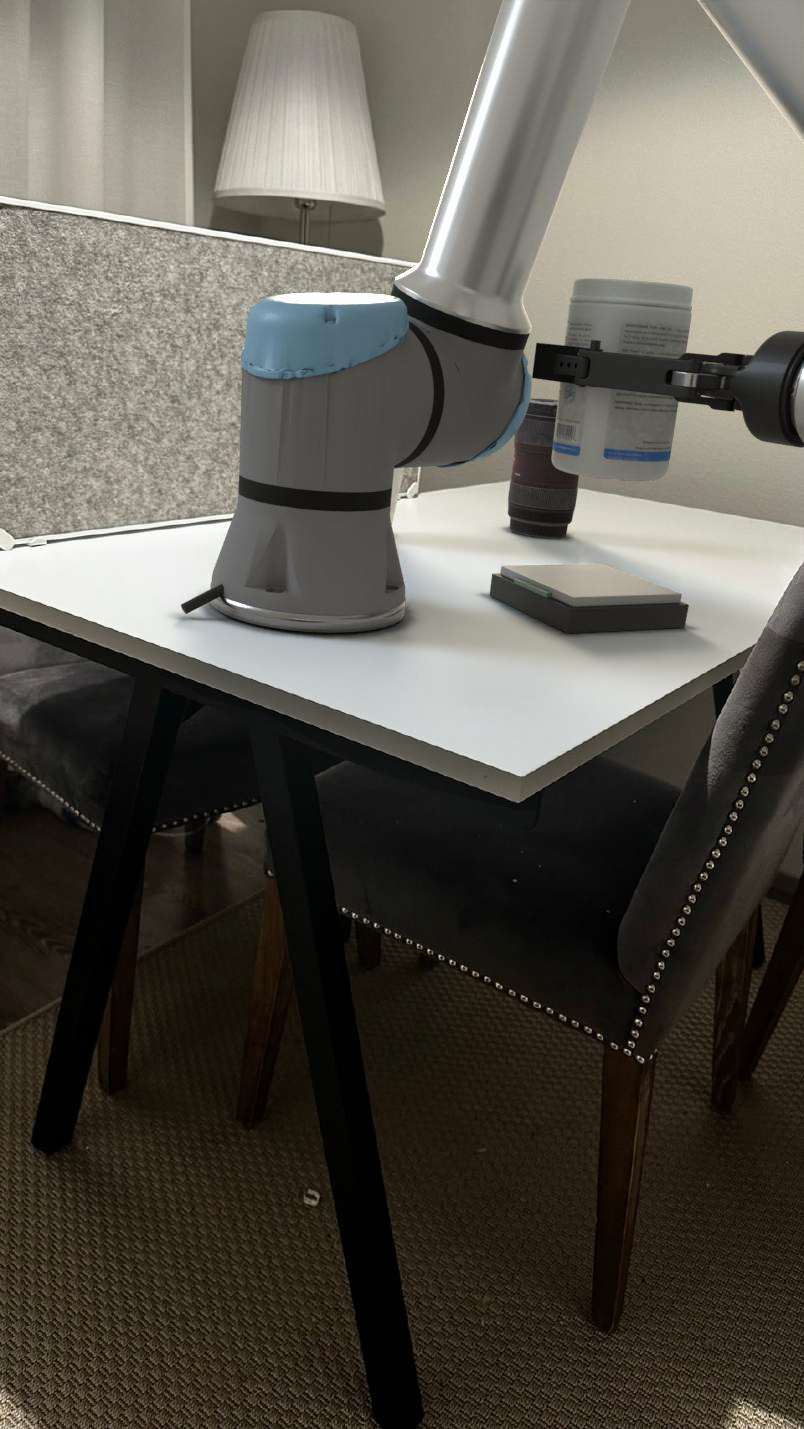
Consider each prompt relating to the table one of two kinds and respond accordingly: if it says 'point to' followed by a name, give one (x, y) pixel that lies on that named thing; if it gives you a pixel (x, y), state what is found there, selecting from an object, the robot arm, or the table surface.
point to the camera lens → (539, 477)
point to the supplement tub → (609, 422)
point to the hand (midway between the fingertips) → (582, 364)
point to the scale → (588, 598)
